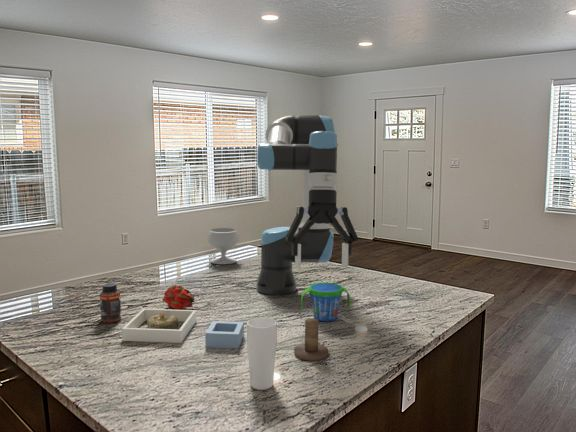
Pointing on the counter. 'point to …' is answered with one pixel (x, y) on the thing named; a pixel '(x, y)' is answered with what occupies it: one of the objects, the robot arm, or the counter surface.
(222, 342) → the collar
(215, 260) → the chalice
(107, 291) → the supplement bottle
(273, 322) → the drinking glass
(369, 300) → the counter surface
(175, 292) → the dragon fruit
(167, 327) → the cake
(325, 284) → the snack cup
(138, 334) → the cream rectangular open frame
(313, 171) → the robot arm
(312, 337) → the post
